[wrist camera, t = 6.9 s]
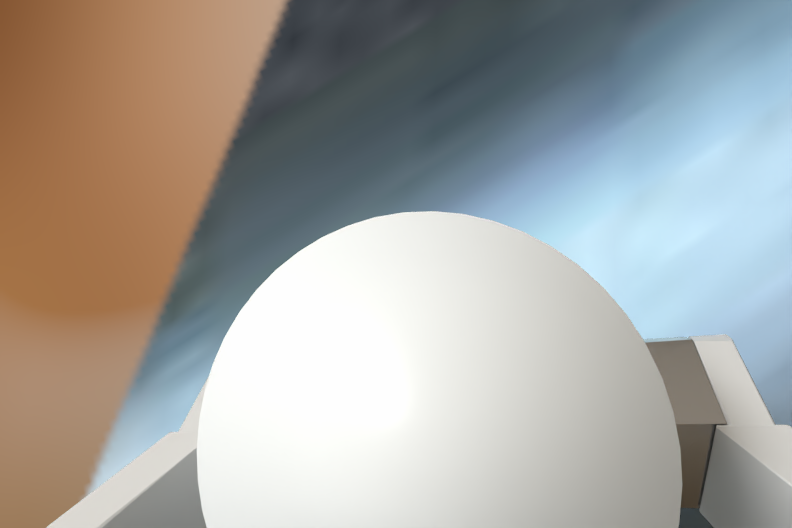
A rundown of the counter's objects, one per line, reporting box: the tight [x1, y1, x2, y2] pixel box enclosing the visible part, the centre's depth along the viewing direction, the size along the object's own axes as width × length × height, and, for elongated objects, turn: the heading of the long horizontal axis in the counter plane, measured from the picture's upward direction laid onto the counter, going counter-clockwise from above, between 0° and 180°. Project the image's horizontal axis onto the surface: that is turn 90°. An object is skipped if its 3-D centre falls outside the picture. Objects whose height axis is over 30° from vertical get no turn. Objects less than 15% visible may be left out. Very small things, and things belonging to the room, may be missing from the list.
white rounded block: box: [197, 211, 682, 528], centre depth 10 cm, size 5×5×8 cm
